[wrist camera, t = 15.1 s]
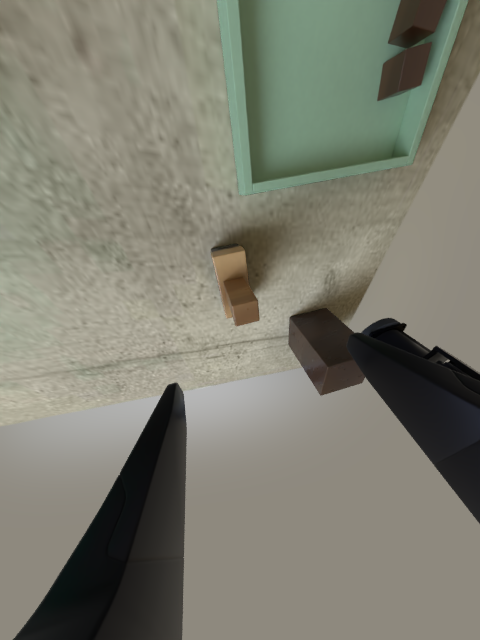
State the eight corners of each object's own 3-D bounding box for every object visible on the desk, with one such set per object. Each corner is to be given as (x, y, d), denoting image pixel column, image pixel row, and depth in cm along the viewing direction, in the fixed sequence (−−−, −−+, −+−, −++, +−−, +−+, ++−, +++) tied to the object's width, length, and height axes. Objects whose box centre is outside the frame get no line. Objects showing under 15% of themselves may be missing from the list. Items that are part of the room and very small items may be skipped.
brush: (209, 248, 16) (219, 278, 11) (238, 242, 16) (261, 268, 11) (222, 305, 19) (235, 348, 14) (245, 299, 20) (266, 339, 15)
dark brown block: (326, 307, 23) (377, 352, 17) (320, 335, 26) (362, 383, 20) (289, 317, 23) (328, 367, 16) (288, 344, 26) (320, 396, 19)
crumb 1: (424, 2, 10) (456, -24, 9) (407, 49, 11) (435, 32, 10) (401, -6, 10) (432, -34, 9) (386, 44, 11) (412, 25, 10)
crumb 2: (406, 56, 11) (433, 41, 10) (398, 95, 12) (421, 85, 11) (382, 63, 11) (406, 48, 10) (376, 101, 12) (397, 92, 11)
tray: (516, -269, 7) (602, -388, 6) (390, 166, 15) (412, 164, 14) (182, -295, 6) (180, -455, 4) (238, 194, 14) (245, 195, 13)
